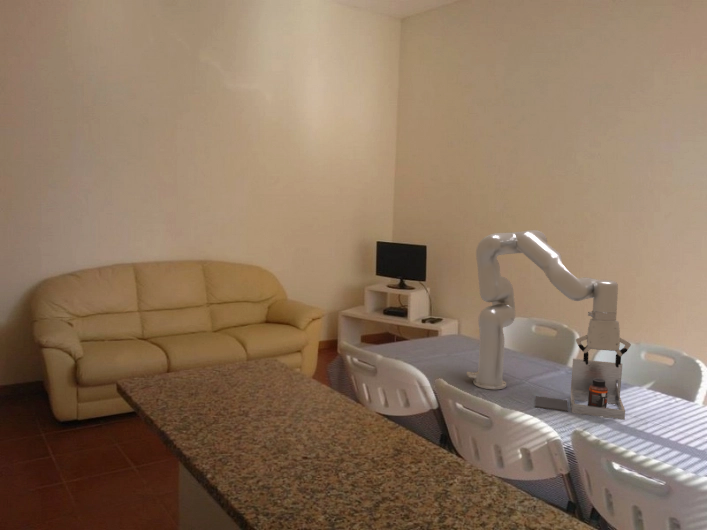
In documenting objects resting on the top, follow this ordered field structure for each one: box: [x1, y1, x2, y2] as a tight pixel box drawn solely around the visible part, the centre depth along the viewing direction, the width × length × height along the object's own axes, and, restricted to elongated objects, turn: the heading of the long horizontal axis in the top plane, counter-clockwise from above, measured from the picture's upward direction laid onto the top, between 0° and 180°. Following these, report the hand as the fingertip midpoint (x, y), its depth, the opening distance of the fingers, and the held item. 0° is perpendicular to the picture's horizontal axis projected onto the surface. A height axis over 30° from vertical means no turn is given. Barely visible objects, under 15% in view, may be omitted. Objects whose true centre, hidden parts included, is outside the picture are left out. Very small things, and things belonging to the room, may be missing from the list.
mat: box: [534, 395, 569, 413], centre depth 203 cm, size 11×11×1 cm
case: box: [569, 358, 626, 421], centre depth 200 cm, size 17×17×15 cm
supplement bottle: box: [587, 379, 608, 408], centre depth 197 cm, size 6×6×11 cm
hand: (601, 365), depth 195 cm, fingers open, 9 cm apart
